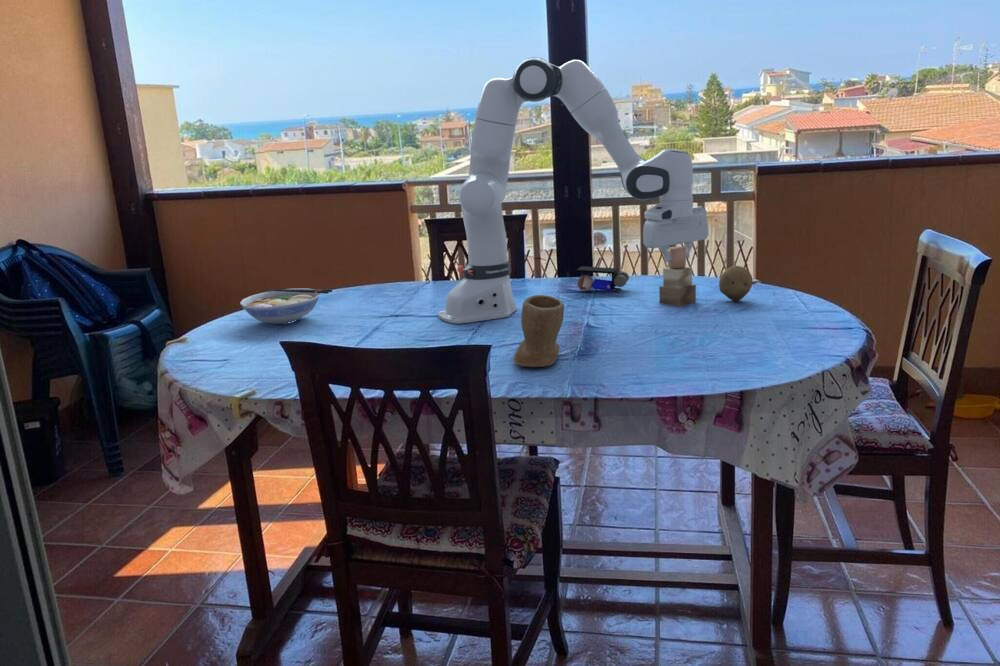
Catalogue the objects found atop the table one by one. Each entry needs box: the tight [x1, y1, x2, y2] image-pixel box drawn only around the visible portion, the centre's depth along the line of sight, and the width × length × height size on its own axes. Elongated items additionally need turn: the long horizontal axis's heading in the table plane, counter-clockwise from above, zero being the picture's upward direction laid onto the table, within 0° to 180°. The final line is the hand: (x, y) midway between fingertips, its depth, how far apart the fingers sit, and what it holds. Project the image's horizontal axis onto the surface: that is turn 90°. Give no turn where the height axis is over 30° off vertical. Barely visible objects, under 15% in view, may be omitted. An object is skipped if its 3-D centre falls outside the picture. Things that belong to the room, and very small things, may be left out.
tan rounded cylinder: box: [667, 246, 687, 268], centre depth 221 cm, size 5×5×5 cm
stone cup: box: [512, 294, 565, 368], centre depth 182 cm, size 15×12×15 cm
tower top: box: [662, 265, 693, 289], centre depth 223 cm, size 6×6×5 cm
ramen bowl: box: [239, 287, 333, 325], centre depth 234 cm, size 25×23×8 cm
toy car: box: [576, 265, 630, 293], centre depth 244 cm, size 7×8×15 cm
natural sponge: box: [718, 265, 754, 302], centre depth 220 cm, size 9×9×10 cm
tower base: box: [658, 283, 697, 308], centre depth 224 cm, size 7×7×5 cm
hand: (676, 259), depth 222 cm, fingers closed on tan rounded cylinder, 5 cm apart
